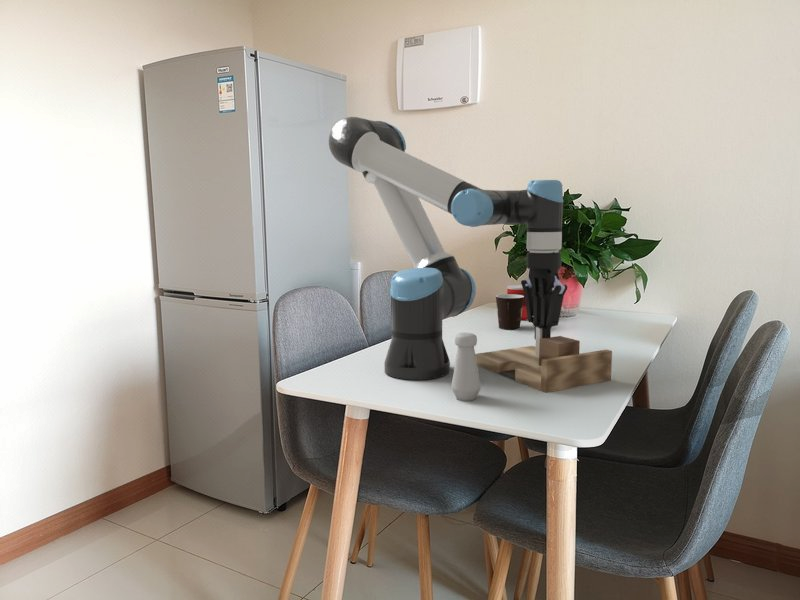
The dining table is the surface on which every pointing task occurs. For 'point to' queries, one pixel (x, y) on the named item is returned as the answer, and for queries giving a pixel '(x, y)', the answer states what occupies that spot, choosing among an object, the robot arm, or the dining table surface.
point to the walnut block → (557, 347)
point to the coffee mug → (509, 311)
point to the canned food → (519, 291)
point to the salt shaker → (466, 368)
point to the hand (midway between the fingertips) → (542, 355)
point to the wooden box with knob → (548, 367)
